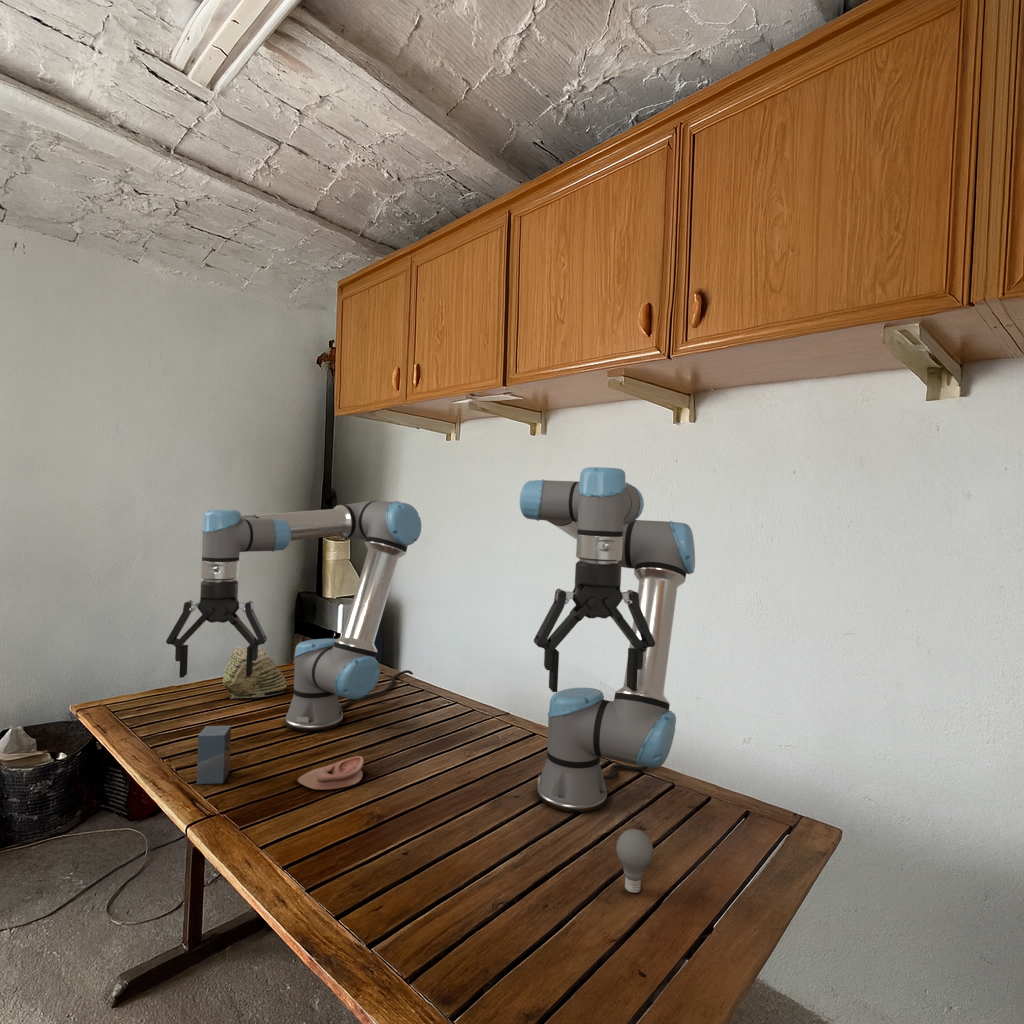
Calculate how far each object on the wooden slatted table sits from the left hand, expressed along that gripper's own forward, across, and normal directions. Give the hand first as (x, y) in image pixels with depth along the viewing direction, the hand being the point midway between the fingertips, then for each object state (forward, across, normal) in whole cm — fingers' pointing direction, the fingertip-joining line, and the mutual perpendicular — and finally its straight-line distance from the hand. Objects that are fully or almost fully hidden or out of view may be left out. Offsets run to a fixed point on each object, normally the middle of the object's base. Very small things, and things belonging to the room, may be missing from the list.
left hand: (216, 675), depth 140 cm
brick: (+23, 0, 0) cm, 23 cm away
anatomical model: (+23, +26, -3) cm, 34 cm away
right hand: (-11, +70, -49) cm, 86 cm away
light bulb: (+23, +78, -51) cm, 96 cm away
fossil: (+23, -3, +60) cm, 64 cm away
